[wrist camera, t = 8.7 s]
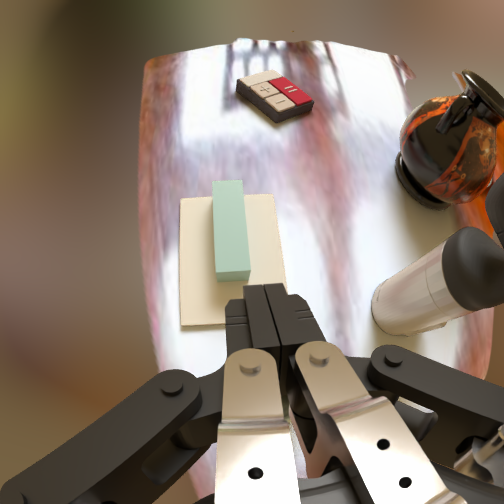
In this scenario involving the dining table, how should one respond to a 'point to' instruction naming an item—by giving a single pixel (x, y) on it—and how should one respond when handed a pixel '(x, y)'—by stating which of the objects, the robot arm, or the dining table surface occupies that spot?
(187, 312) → the mat
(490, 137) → the amphora vase
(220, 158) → the dining table surface
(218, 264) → the block
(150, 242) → the dining table surface
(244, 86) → the calculator
